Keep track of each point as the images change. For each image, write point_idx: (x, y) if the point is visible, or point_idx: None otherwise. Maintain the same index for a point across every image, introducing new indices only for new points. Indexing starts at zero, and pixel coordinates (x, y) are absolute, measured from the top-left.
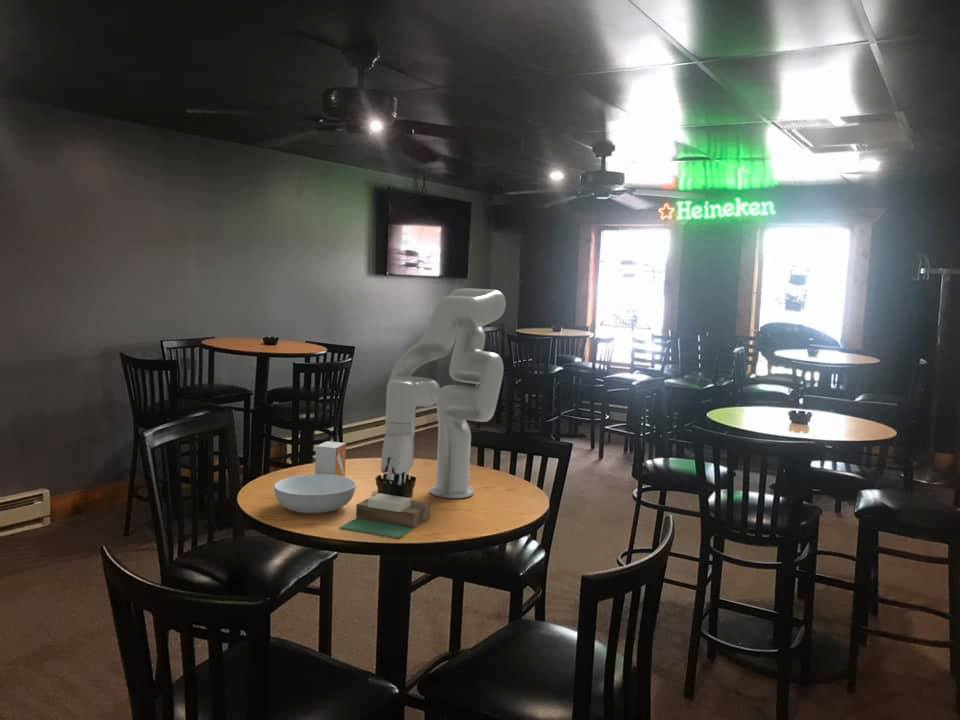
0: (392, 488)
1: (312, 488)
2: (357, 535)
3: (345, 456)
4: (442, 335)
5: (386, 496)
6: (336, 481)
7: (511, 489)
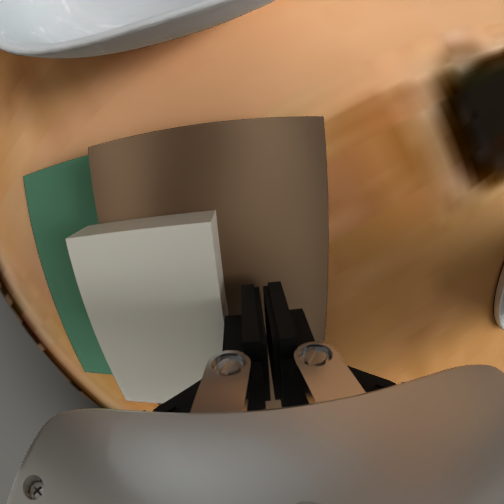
0: (223, 343)
1: None
2: (26, 262)
3: None
4: None
5: (176, 302)
6: None
7: None
